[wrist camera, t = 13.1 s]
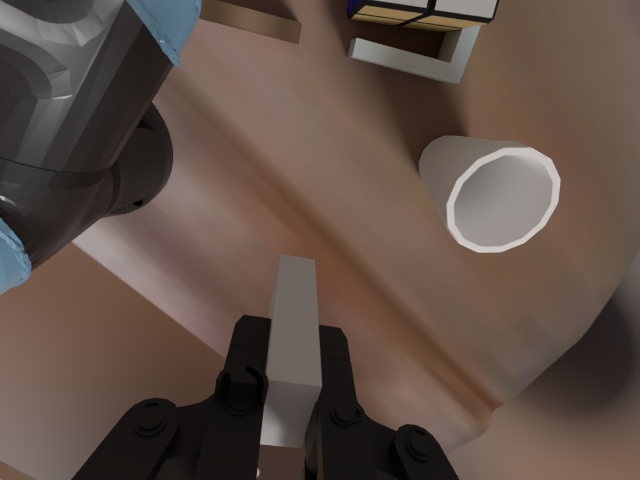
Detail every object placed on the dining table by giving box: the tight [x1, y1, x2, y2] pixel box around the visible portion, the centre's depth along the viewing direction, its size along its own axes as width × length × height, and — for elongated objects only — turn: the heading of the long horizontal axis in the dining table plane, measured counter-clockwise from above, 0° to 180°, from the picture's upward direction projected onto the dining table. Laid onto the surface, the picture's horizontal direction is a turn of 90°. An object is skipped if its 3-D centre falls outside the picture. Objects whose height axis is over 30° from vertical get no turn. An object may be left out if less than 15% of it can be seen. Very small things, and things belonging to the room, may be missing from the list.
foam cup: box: [419, 136, 561, 252], centre depth 34 cm, size 10×9×13 cm
